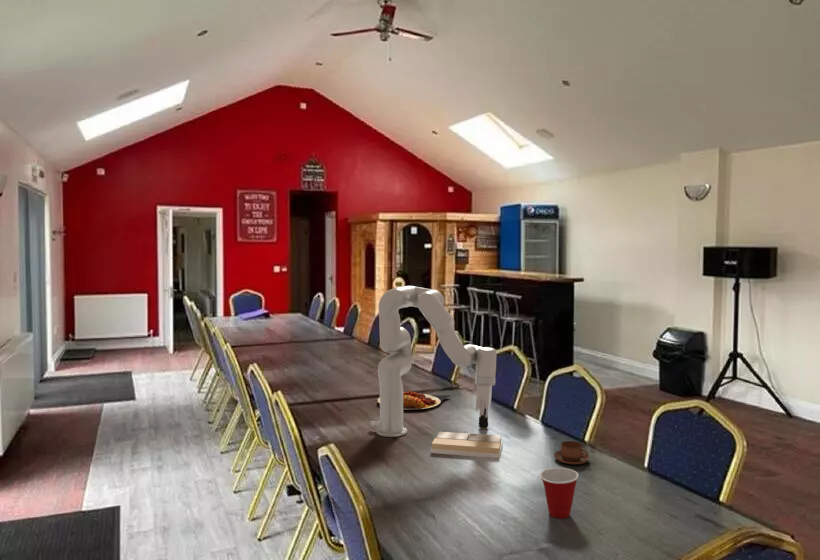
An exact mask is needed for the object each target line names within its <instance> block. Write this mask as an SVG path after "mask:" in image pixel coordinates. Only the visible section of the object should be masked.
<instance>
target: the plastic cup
mask: <svg viewBox="0 0 820 560" xmlns="http://www.w3.org/2000/svg"><path fill="white" fill-rule="evenodd" d="M539 477H540V479H541V481H542V483H543V487H544V493H545V500H546V503H547V510H548V511H547V512H548V513H549V516H551V517H552V518H554V519H567V518H569V517H570V515H571V510H572V505H573V502H574V501H573V500H574V496H575V490H576V486H577V483H578V482H577V481H578V479H579V473H578V472H577V471H576V470H574V469H571V468H566V467H551V468H547V469H544V470H542V471H541V472H540V473H539Z"/></svg>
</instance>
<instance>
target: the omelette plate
mask: <svg viewBox="0 0 820 560" xmlns="http://www.w3.org/2000/svg"><path fill="white" fill-rule="evenodd" d="M450 397H451V395H447V394H445V395H444V394H443V395H437V394H436V395H430V394H425V393H423V392H422V393H418V392H417V391H416V392H415V391H414V392H413V391H412V390H409V391H403V411H404V410H405V411H406V410H408V411H409V410H410V411H411V410H416V409H421V410H424V409H430V408H434V407H437V406H438V405H440V404H441V403H442V402H443V401H444V400H445V399H447V398H450ZM377 403H379V404H380V396H379V397H378V398H377ZM406 408H407V409H406Z"/></svg>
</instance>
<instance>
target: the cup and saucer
mask: <svg viewBox="0 0 820 560" xmlns="http://www.w3.org/2000/svg"><path fill="white" fill-rule="evenodd" d="M584 452H585V453H584ZM553 456H554V459H556V460H557V461H558V462H560V463H563V464H567V465H583V464H585V463H587V462H588V461H589V459H590V457H589V452H588V451H587V450H586V449H584V448H583V443H581V442H578V441H572V440H567V441H566V440H565V441H562V442H561V443H560V450H559V451H556V452H555V453H554V454H553Z"/></svg>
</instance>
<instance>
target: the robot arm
mask: <svg viewBox="0 0 820 560" xmlns="http://www.w3.org/2000/svg"><path fill="white" fill-rule="evenodd" d="M444 304H445V298H444V295H443V294H442V293H441V292H440V291H439V290H437V289H433V288H432V289H431V288H425V287H419V286H414V285H405V286H398V287H394V288H391V289H389V290H387V291H386V292H385V293H383V294H382V296H381V297H380V299H379V301H378V317H379V318H378V319H379V320H378V321H379V322H378V323H379V344H380V345H379V346H380V349H382V351H383V352H385V353H387V354H388V353H390V355H387V356H385V357H384V358H382V359H381V360H380V361H379V362H378V365H377V375H378V383H379V397H380V403H379V420H377V421H376V420H370V423H369V425H370V426H371V428H376V429H375V432H376V434H377V435H378V436H381V437H389V438H394V437H401V436H404V435H406V434H407V432H408V429H407V428H406V427H404V407H403V392H404V385H403V381H402V377H403V376H404V375H406V374H408V373H409V371H410V370H411V369H412V368H411V367H412V362H413V361H412V360H413V359H412V339H411V335H410V332H409V331H408V330H407V329H406V328H404V327H403V326H401V316H400V313H399V310H400V309H404V308H409V307H414V308H418V310H419V312H420V313H422V315H423V316H424V318H425V319H426V321H427V322H428V323H429V324H430V326H431V327H432V329H433V330H434V331H435V332H436V335H437V339H438V341H439V343H440V346H441V348H442V350H443V351H444V353H445V354H446V355H447V357H448V358H449V359H450V360H451V362H452V363H453V364H454V365H455V366H457V367H458V368H467V367H469V366H470V365H472V364H474V363H476V371H475V376H474V377H475V381H474V383H475V385H476V386H477V387H476V398H475V409H474V410H475V411H476V412H477V411H479V416H478V428H480V427H481V428H487V429H488V427H489V420H488V419H489V410H490V408H491V403H492V394H493V393H492V389H493V386H495V385H496V374H497V371H496V366H497V349H495V348H493V347H490V346H484V347H483V346H478V345H476V344H470V343H469V344H465V345H464V344H462V342H461V341H460V339H459V338H458V335H457V334H456V331H455V319H454V317H453V316H452V315H451V314H450V313H449V311H448V310H447V308H446V307H445V306H444ZM487 416H488V417H487ZM487 426H488V427H487ZM481 428H480V429H481Z"/></svg>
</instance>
